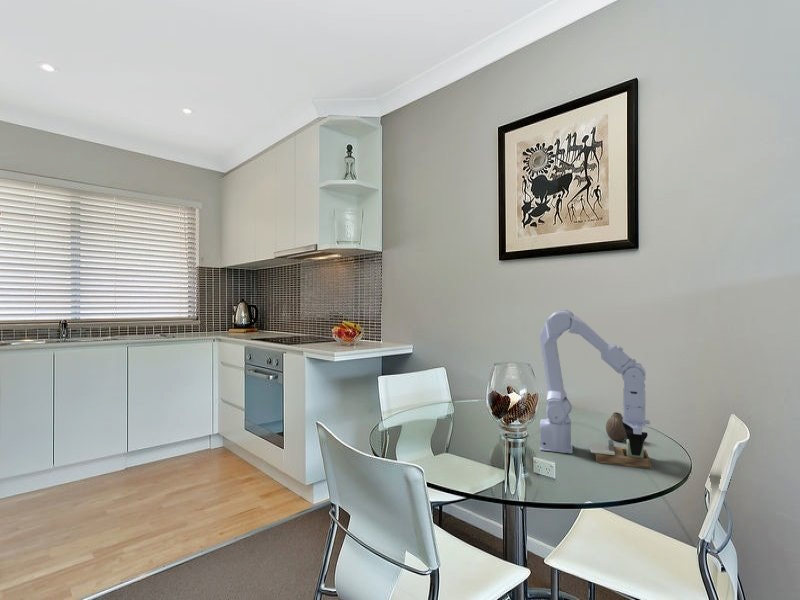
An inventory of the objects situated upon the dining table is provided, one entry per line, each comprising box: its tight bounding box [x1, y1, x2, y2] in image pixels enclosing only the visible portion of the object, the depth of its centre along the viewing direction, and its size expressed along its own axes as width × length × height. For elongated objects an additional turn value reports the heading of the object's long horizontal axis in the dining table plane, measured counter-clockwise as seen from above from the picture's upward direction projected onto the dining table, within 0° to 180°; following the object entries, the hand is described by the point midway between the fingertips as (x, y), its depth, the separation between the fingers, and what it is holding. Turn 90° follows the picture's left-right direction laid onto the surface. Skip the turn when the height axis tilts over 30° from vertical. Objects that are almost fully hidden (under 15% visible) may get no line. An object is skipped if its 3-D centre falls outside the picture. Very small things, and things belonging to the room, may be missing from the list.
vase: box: [605, 411, 627, 442], centre depth 147 cm, size 7×7×9 cm
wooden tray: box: [594, 445, 652, 470], centre depth 130 cm, size 14×9×2 cm, turn 68°
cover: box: [589, 439, 615, 455], centre depth 132 cm, size 6×8×2 cm
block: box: [626, 438, 645, 458], centre depth 128 cm, size 4×4×5 cm
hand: (634, 450), depth 128 cm, fingers open, 6 cm apart
